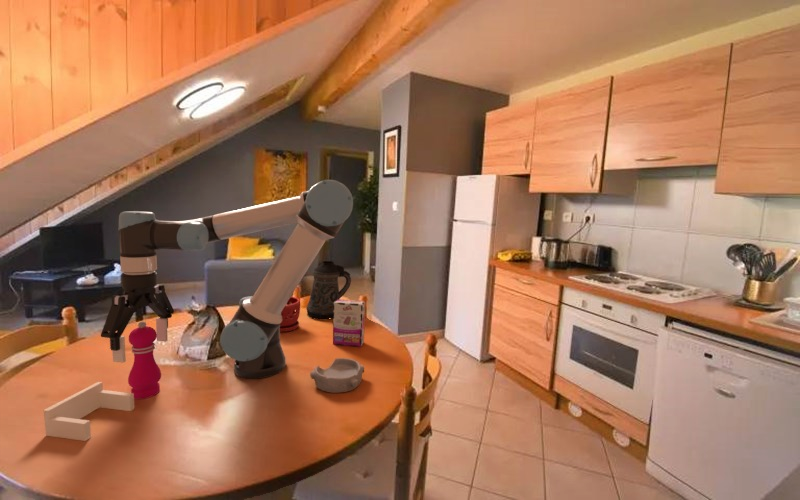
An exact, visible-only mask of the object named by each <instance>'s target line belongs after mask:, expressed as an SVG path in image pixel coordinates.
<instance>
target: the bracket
mask: <svg viewBox="0 0 800 500" xmlns="http://www.w3.org/2000/svg"><path fill="white" fill-rule="evenodd" d="M103 388H104V387H103V382H102V381H97V382H94V383H93V384H91V385H90V386H87V387H86V388H84V389H82V390H80V391H77V392H76V393H74V394H72V395H70V396H68V397H66V398H65V399H64V398H63V399H62V400H59V402H56V403H54V404H53V405H50V406H48V407H47V408H45V409H43V418H44V419H43V420H44V430H45V436H46V437H53V438H61V439H68V440H75V441H83V442H86V441H88V440H90V439H91V438H92V433H91V421H90V420H88V419H83V418H84V417H86V416H87V415H89V414H91V413H92V412H95V410H98V409H100V408H101V409H102V408H103V409H110V410H111V409H112V410H116V411H117V410H118V411H124V412H131V411H133V410H134V409H135V399H134V393H131V392H123V391H115V390H107V389H103Z"/></svg>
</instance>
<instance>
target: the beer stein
mask: <svg viewBox="0 0 800 500" xmlns="http://www.w3.org/2000/svg"><path fill="white" fill-rule="evenodd" d="M312 276H313V279H312V285H311V291H310V296H309V300H308V302H307V305H306V309H305V310H306V314H307V316H308V317H309V319H313V318H315V319H314V320H320V319H327V320H330V319H329V318H333V304H334V302H335V301H336V300H341V298H342V297H343V296H344V295H345V294H346V292H348V290H349V288H350V287H351V283H352V277H351V274H350V273H349V272H347V270H345V268H344V267H343V266H342V265H341V264H335V263H334V261H332V260H331V261H329V260H325V261H324V260H323V261H322V262H321V264H319V265H318V266H317V267H315V268H314V269H313V270H312ZM341 277H343V278H345V283H344V285H343V287H341V289H340V288H339V278H341Z"/></svg>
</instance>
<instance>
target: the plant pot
mask: <svg viewBox="0 0 800 500" xmlns="http://www.w3.org/2000/svg"><path fill="white" fill-rule="evenodd" d="M300 312H301V300H300V299H299V298H298V297H296V296H291V297H290V299H289V300H288V302H287V303H286V305H285V307H284V308H283V310H282V311H281V316H282V322H281V323H280V333H281V332H283V333H284V332H291V331H293V330H295V329H296V328H298V326H299V324H300V323H299V321H298V320H299V317H300V315H301V313H300Z"/></svg>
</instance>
